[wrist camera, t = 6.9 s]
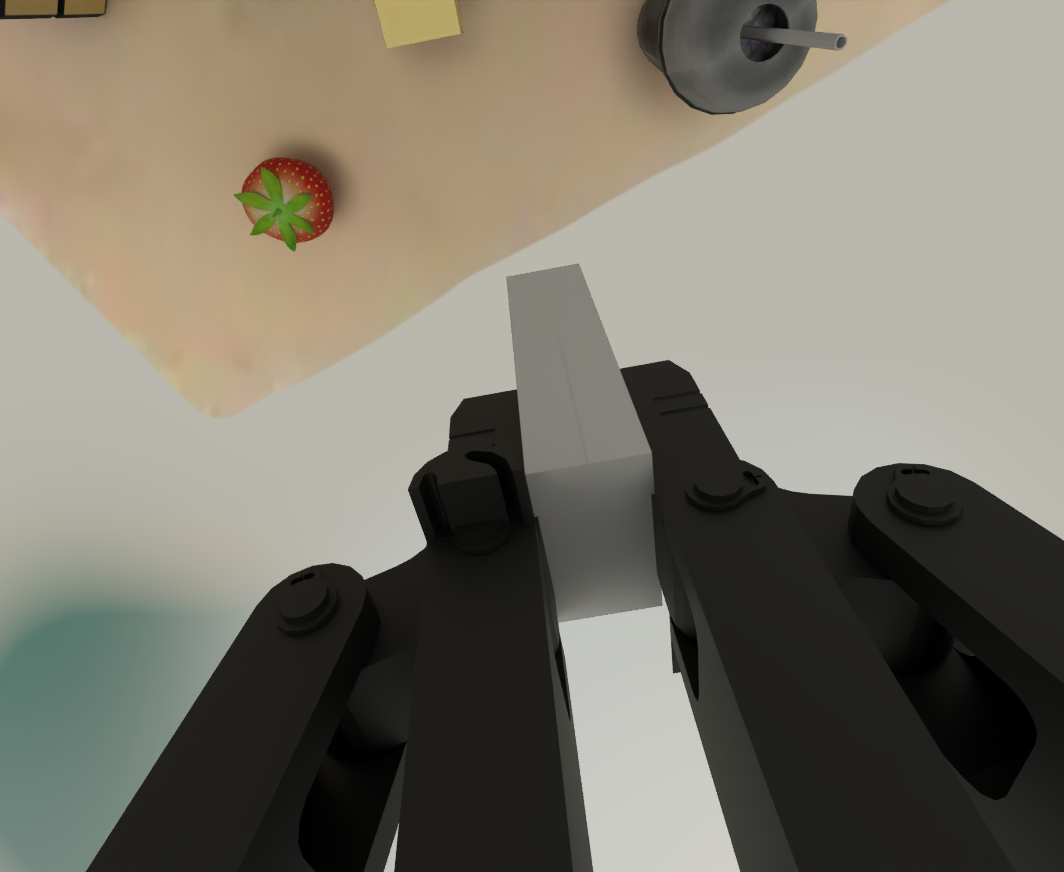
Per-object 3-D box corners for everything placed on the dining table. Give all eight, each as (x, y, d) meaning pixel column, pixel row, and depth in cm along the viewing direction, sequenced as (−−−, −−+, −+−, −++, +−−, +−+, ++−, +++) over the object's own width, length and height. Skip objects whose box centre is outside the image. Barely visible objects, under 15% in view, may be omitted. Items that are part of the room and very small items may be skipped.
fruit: (335, 143, 42) (308, 168, 35) (350, 221, 45) (328, 258, 38) (254, 146, 41) (212, 172, 35) (274, 225, 44) (239, 262, 38)
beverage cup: (628, -58, 37) (749, -110, 20) (745, -38, 38) (950, -72, 21) (605, 82, 41) (690, 133, 24) (710, 97, 42) (860, 155, 25)
